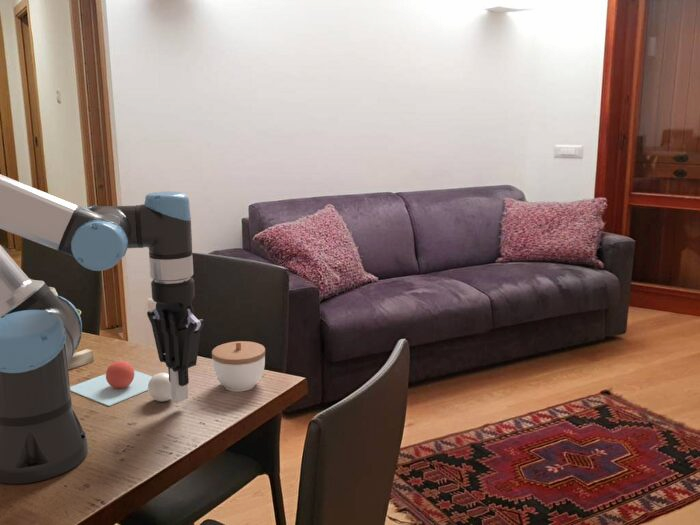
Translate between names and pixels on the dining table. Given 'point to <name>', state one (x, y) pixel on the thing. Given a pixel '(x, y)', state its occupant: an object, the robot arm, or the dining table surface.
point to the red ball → (120, 374)
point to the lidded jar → (239, 364)
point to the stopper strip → (81, 358)
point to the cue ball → (160, 387)
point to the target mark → (111, 389)
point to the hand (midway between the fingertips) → (180, 399)
